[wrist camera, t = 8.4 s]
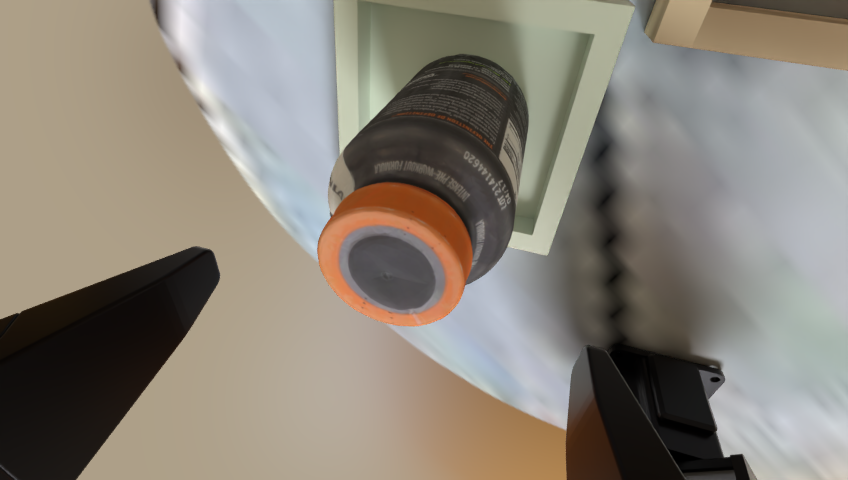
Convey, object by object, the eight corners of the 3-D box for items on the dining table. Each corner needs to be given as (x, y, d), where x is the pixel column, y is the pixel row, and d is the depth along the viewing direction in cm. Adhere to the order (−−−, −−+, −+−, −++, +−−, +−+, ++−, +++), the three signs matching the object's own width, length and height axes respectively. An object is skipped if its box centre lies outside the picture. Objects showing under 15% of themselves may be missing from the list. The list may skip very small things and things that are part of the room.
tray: (548, 232, 22) (547, 256, 21) (356, 190, 24) (342, 209, 22) (627, -1, 16) (635, 6, 14) (353, -37, 17) (332, -34, 16)
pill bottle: (380, 122, 20) (244, 264, 12) (457, 19, 17) (347, 110, 8) (469, 199, 22) (407, 380, 13) (559, 118, 18) (559, 291, 9)
